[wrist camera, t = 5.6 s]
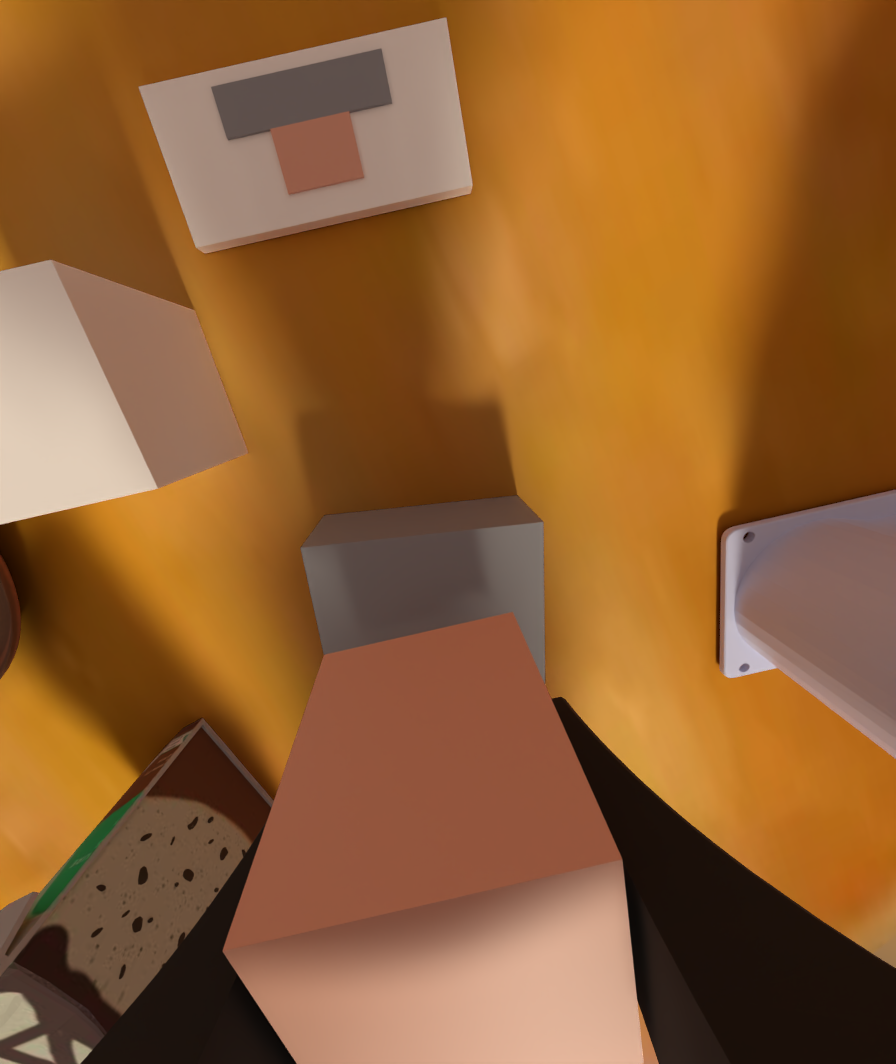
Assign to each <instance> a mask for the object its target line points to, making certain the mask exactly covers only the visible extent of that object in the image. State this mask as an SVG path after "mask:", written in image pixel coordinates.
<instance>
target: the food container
mask: <svg viewBox="0 0 896 1064" xmlns="http://www.w3.org/2000/svg"><path fill="white" fill-rule="evenodd" d="M273 802H274V801H273V799H272V798H271V797H270V796H269V795H268V794H267V792H266V791H265V790H264V789H263V788H262V787H261V785H260V784H259V783H258V782H257V781H256V780H255V778H254V777H253V776H252V775H251V774H250V773H249V771H248V770H247V769H246V768H245V767H244V766H243V764H242V763H241V762H240V761H239V760H238V758H237V757H236V756H235V755H234V754H233V753H232V751H231V750H230V749H229V748H228V747H227V746H226V744H225V743H224V742H223V741H222V740H221V739H220V737H219V736H218V735H217V734H216V733H215V732H214V730H213V729H212V728H211V727H210V726H209V725H208V723H207V722H206V721H205V720H204V719H203V718H201V719H199V720H197V721H195V722H194V723H192V724H190V725H188V726H186V727H184V728H183V729H182V730H181V731H180V732H179V733H178V734H177V735H176V736H175V737H174V738H173V739H172V740H171V741H170V742H169V743H168V744H167V745H166V746H165V747H164V748H163V750H162V751H161V752H160V753H159V754H158V755H157V757H156V758H155V759H154V760H153V761H152V762H151V764H150V765H149V766H148V767H147V768H146V769H145V771H144V772H143V773H142V774H141V775H140V776H139V778H138V779H137V780H136V781H135V782H134V783H133V785H132V786H131V787H130V788H129V789H128V790H127V792H126V793H125V794H124V795H123V796H122V797H121V799H120V800H119V801H118V802H117V803H116V804H115V806H114V807H113V808H112V809H111V810H110V811H109V813H108V814H107V815H106V816H105V817H104V818H103V820H102V821H101V822H100V823H99V824H98V825H97V827H96V828H95V829H94V830H93V831H92V832H91V834H90V835H89V836H88V837H87V838H86V839H85V841H84V842H83V843H82V844H81V845H80V846H79V848H78V849H77V850H76V851H75V852H74V853H73V855H72V856H71V857H70V858H69V859H68V860H67V862H66V863H65V864H64V865H63V866H62V867H61V869H60V870H59V871H58V872H57V873H56V874H55V876H54V877H53V878H52V879H51V880H50V881H49V883H48V884H47V885H46V886H45V887H44V888H43V890H42V891H41V892H40V893H37V892H32V893H30V894H28V895H26V896H24V897H22V898H20V899H18V900H16V901H14V902H12V903H10V904H8V905H7V906H6V907H4V908H3V909H2V910H0V1064H80V1063H81V1062H82V1061H83V1060H84V1059H85V1058H86V1057H87V1056H88V1054H89V1053H90V1052H91V1051H92V1050H93V1049H94V1048H95V1046H96V1045H97V1044H98V1043H99V1042H100V1041H101V1039H102V1038H103V1037H104V1036H105V1035H106V1034H107V1032H108V1031H109V1030H110V1029H111V1028H112V1026H113V1025H114V1024H115V1023H116V1022H117V1021H118V1019H119V1018H120V1017H121V1016H122V1015H123V1014H124V1012H125V1011H126V1010H127V1009H128V1008H129V1006H130V1005H131V1004H132V1003H133V1002H134V1001H135V999H136V998H137V997H138V996H139V995H140V994H141V992H142V991H143V990H144V989H145V988H146V986H147V985H148V984H149V983H150V982H151V981H152V979H153V978H154V977H155V976H156V974H157V973H158V972H159V971H160V969H161V968H162V967H163V966H164V964H165V963H166V962H167V961H168V959H169V958H170V957H171V956H172V954H173V953H174V952H175V950H176V949H177V948H178V947H179V945H180V944H181V943H182V941H183V940H184V939H185V938H186V936H187V935H188V934H189V932H190V931H191V930H192V928H193V927H194V926H195V924H196V923H197V922H198V920H199V919H200V918H201V916H202V915H203V914H204V912H205V911H206V909H207V908H208V907H209V905H210V904H211V903H212V901H213V900H214V898H215V897H216V895H217V894H218V893H219V891H220V890H221V888H222V887H223V885H224V884H225V883H226V881H227V880H228V878H229V877H230V875H231V874H232V873H233V871H234V870H235V868H236V867H237V865H238V864H239V862H240V861H241V860H242V858H243V857H244V855H245V854H246V852H247V851H248V849H249V847H250V846H251V844H252V843H253V841H254V840H255V838H256V837H257V835H258V834H259V832H260V831H261V829H262V827H263V826H264V824H265V823H266V821H267V820H268V817H269V814H270V811H271V808H272V805H273Z"/></svg>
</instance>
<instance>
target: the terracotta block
mask: <svg viewBox="0 0 896 1064" xmlns="http://www.w3.org/2000/svg"><path fill="white" fill-rule="evenodd" d="M223 953H224V954H225V956H226V958H227V959H228V961H229V962H230V964H231V965H232V967H233V968H234V970H235V971H236V973H237V974H238V976H239V977H240V979H241V980H242V982H243V983H244V985H245V986H246V988H247V989H248V991H249V992H250V994H251V995H252V997H253V998H254V1000H255V1001H256V1003H257V1004H258V1006H259V1007H260V1009H261V1010H262V1012H263V1013H264V1015H265V1016H266V1018H267V1019H268V1021H269V1023H270V1024H271V1026H272V1027H273V1029H274V1030H275V1032H276V1033H277V1035H278V1036H279V1038H280V1039H281V1041H282V1042H283V1044H284V1045H285V1047H286V1048H287V1050H288V1051H289V1053H290V1054H291V1056H292V1057H293V1059H294V1060H295V1062H296V1063H297V1064H641V1063H644V1062H643V1052H642V1042H641V1033H640V1023H639V1014H638V1004H637V994H636V985H635V975H634V966H633V956H632V946H631V937H630V927H629V918H628V908H627V898H626V889H625V879H624V870H623V860H622V857H621V855H620V853H619V851H618V848H617V846H616V844H615V841H614V839H613V837H612V835H611V832H610V830H609V828H608V826H607V823H606V821H605V819H604V817H603V814H602V812H601V810H600V808H599V805H598V803H597V801H596V799H595V796H594V794H593V792H592V790H591V787H590V785H589V783H588V781H587V778H586V776H585V774H584V772H583V769H582V767H581V765H580V762H579V760H578V758H577V756H576V753H575V751H574V749H573V747H572V744H571V742H570V740H569V738H568V735H567V733H566V731H565V729H564V726H563V724H562V722H561V720H560V717H559V715H558V713H557V711H556V708H555V706H554V704H553V702H552V699H551V697H550V695H549V693H548V690H547V688H546V686H545V684H544V681H543V679H542V677H541V674H540V672H539V670H538V668H537V665H536V663H535V661H534V659H533V656H532V654H531V652H530V650H529V647H528V645H527V643H526V641H525V638H524V636H523V634H522V632H521V629H520V627H519V625H518V623H517V620H516V618H515V616H514V614H513V612H510V613H505V614H501V615H497V616H492V617H488V618H483V619H479V620H475V621H470V622H466V623H461V624H457V625H453V626H448V627H444V628H439V629H435V630H431V631H426V632H422V633H418V634H413V635H409V636H404V637H400V638H396V639H391V640H387V641H382V642H378V643H374V644H369V645H365V646H360V647H356V648H352V649H347V650H343V651H338V652H334V653H330V654H325V655H324V656H323V659H322V662H321V665H320V668H319V671H318V674H317V677H316V680H315V683H314V686H313V688H312V691H311V694H310V697H309V700H308V703H307V706H306V709H305V712H304V715H303V718H302V720H301V723H300V726H299V729H298V732H297V735H296V738H295V741H294V744H293V747H292V750H291V753H290V755H289V758H288V761H287V764H286V767H285V770H284V773H283V776H282V779H281V782H280V785H279V788H278V790H277V793H276V796H275V799H274V802H273V805H272V808H271V811H270V814H269V817H268V820H267V822H266V825H265V828H264V831H263V834H262V837H261V840H260V843H259V846H258V849H257V852H256V855H255V857H254V860H253V863H252V866H251V869H250V872H249V875H248V878H247V881H246V884H245V887H244V889H243V892H242V895H241V898H240V901H239V904H238V907H237V910H236V913H235V916H234V919H233V922H232V924H231V927H230V930H229V933H228V936H227V939H226V942H225V945H224V948H223Z"/></svg>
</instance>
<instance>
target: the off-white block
mask: <svg viewBox="0 0 896 1064" xmlns="http://www.w3.org/2000/svg"><path fill="white" fill-rule="evenodd" d="M245 454H248V450H247V447H246V445H245V442H244V440H243V437H242V434H241V432H240V429H239V426H238V424H237V421H236V418H235V416H234V413H233V410H232V408H231V405H230V402H229V400H228V397H227V394H226V392H225V389H224V387H223V384H222V381H221V379H220V376H219V373H218V371H217V368H216V365H215V363H214V360H213V357H212V355H211V352H210V349H209V347H208V344H207V341H206V339H205V336H204V334H203V331H202V328H201V326H200V323H199V320H198V318H197V315H196V312H195V310H193V309H190V308H187V307H184V306H181V305H178V304H176V303H173V302H170V301H167V300H164V299H161V298H159V297H156V296H153V295H150V294H147V293H144V292H142V291H139V290H136V289H133V288H130V287H127V286H125V285H122V284H119V283H116V282H113V281H110V280H108V279H105V278H102V277H99V276H96V275H93V274H91V273H88V272H85V271H82V270H79V269H76V268H74V267H71V266H68V265H65V264H62V263H59V262H57V261H54V260H47V261H43V262H38V263H34V264H30V265H25V266H21V267H16V268H12V269H8V270H3V271H0V525H1V524H5V523H9V522H14V521H18V520H23V519H27V518H31V517H36V516H40V515H44V514H49V513H53V512H57V511H62V510H66V509H70V508H75V507H79V506H84V505H88V504H92V503H97V502H101V501H105V500H110V499H114V498H118V497H123V496H127V495H132V494H136V493H140V492H145V491H149V490H153V489H158V488H160V487H163V486H166V485H168V484H171V483H173V482H176V481H178V480H181V479H183V478H186V477H189V476H191V475H194V474H196V473H199V472H201V471H204V470H207V469H209V468H212V467H214V466H217V465H219V464H222V463H225V462H227V461H230V460H232V459H235V458H237V457H240V456H243V455H245Z"/></svg>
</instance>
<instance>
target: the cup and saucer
mask: <svg viewBox="0 0 896 1064" xmlns="http://www.w3.org/2000/svg"><path fill="white" fill-rule="evenodd" d="M20 631H21V615H20V606H19V601H18V596H17V592H16V589H15V585H14V582H13V579H12V577H11V574H10V572H9V570H8V567H7V565H6V563H5V561H4V560H3V558H2V556H1V554H0V679H1V678H2V676H3V675H4V673H5V672H6V671H7V669H8V668H9V666H10V664H11V662H12V660H13V658H14V656H15V653H16V650H17V648H18V643H19V638H20Z"/></svg>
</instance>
